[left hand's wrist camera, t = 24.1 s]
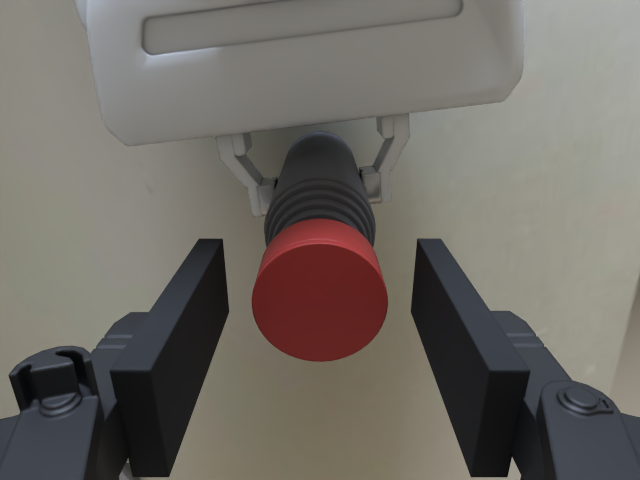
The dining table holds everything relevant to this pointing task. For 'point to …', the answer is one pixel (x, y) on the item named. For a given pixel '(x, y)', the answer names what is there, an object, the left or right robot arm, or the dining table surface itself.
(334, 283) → the cap
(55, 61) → the dining table surface
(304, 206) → the bottle
